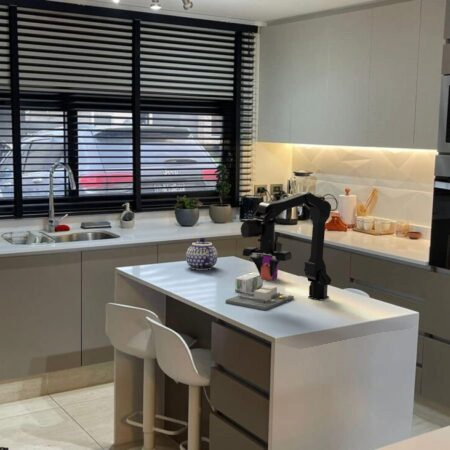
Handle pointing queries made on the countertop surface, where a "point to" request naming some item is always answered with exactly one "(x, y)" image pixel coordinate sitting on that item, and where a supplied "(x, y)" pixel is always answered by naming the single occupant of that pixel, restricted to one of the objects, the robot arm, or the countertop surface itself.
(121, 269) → the countertop surface
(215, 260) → the teapot
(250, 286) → the syrup box
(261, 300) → the panel
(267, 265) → the lockout cap
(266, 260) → the beverage can
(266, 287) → the breaker
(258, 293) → the block
